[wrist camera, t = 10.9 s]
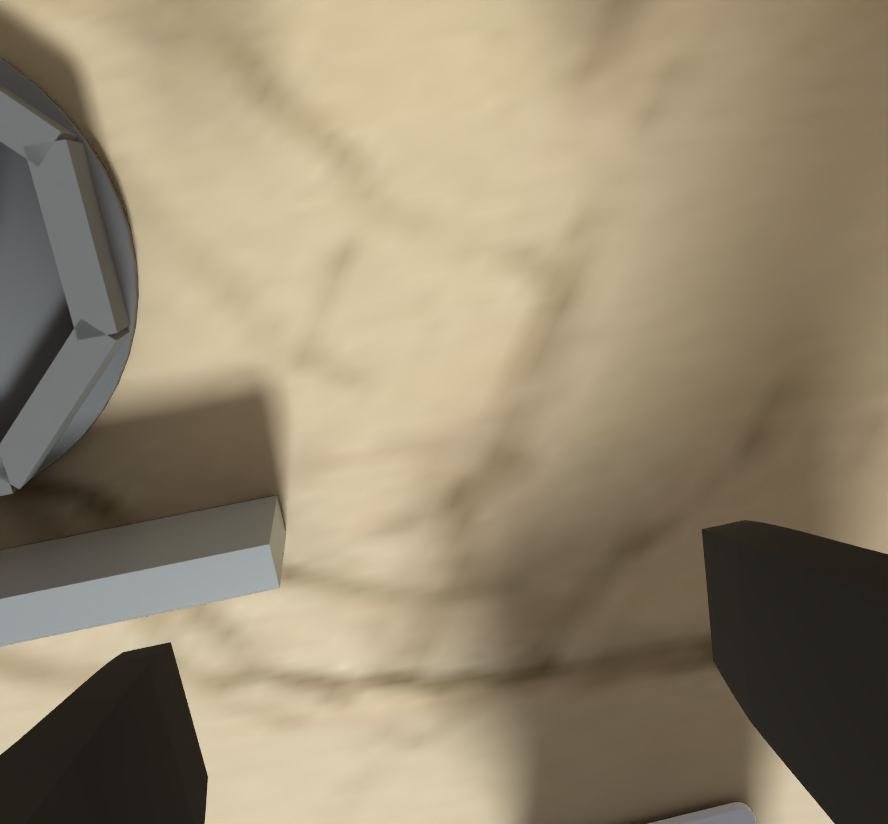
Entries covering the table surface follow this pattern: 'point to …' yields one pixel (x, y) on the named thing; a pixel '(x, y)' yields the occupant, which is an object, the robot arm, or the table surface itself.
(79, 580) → the low wall
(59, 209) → the gray octagonal bowl
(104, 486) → the table surface
